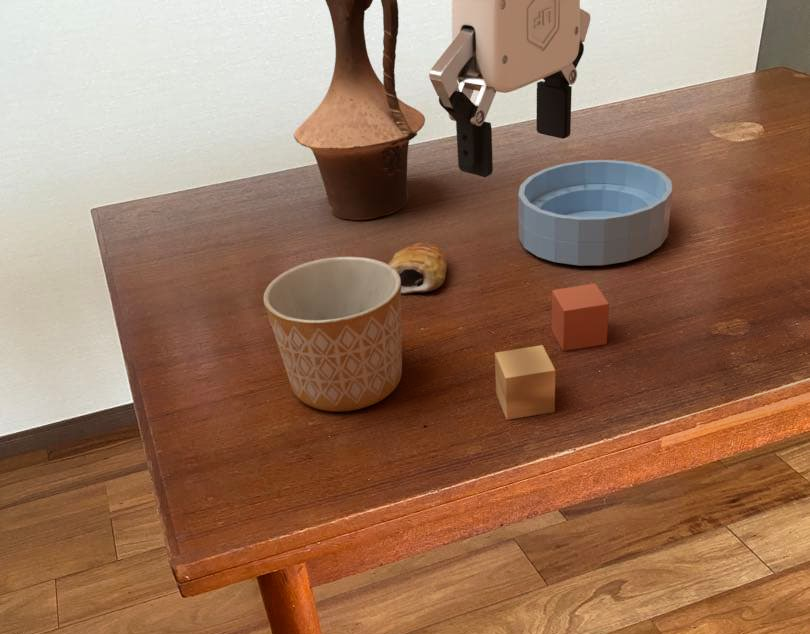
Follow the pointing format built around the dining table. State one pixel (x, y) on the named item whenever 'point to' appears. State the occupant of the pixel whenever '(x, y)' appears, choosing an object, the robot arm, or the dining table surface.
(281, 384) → the dining table surface
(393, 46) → the pitcher
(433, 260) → the pastry
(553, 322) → the block
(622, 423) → the dining table surface
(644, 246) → the bowl
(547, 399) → the block
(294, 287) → the planter
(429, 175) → the dining table surface
